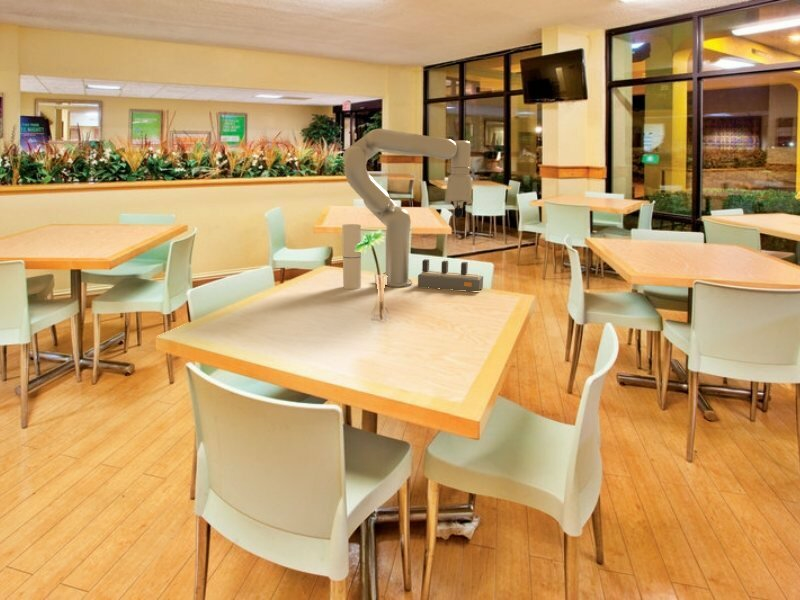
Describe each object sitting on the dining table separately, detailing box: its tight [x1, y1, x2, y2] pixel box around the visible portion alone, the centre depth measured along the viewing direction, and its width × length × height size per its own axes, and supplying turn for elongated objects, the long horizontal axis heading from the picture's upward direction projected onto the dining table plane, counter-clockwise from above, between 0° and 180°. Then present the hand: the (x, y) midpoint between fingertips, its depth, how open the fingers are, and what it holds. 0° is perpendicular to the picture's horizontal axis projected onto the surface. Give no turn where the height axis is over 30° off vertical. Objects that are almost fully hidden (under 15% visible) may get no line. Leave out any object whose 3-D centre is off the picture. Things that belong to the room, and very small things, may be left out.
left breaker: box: [421, 259, 430, 272], centre depth 222 cm, size 2×3×4 cm, turn 162°
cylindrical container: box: [341, 223, 362, 290], centre depth 217 cm, size 7×7×25 cm
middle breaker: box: [440, 260, 449, 273], centre depth 219 cm, size 2×3×4 cm, turn 161°
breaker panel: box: [417, 270, 484, 292], centre depth 220 cm, size 25×8×6 cm, turn 72°
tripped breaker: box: [460, 261, 469, 275], centre depth 217 cm, size 2×3×4 cm, turn 161°
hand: (458, 217), depth 226 cm, fingers closed
